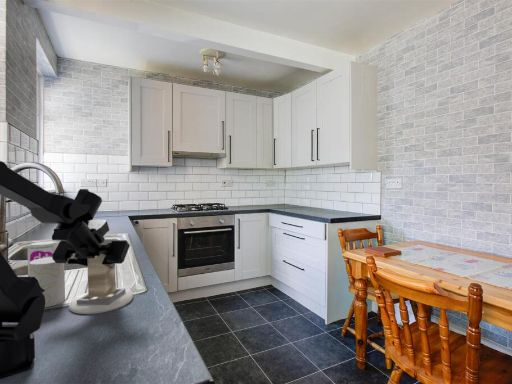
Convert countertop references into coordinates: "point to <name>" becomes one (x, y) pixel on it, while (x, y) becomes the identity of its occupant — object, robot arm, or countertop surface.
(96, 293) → the birch block
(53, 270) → the cup
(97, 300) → the locating plate
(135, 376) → the countertop surface
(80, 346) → the countertop surface
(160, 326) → the countertop surface
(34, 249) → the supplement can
